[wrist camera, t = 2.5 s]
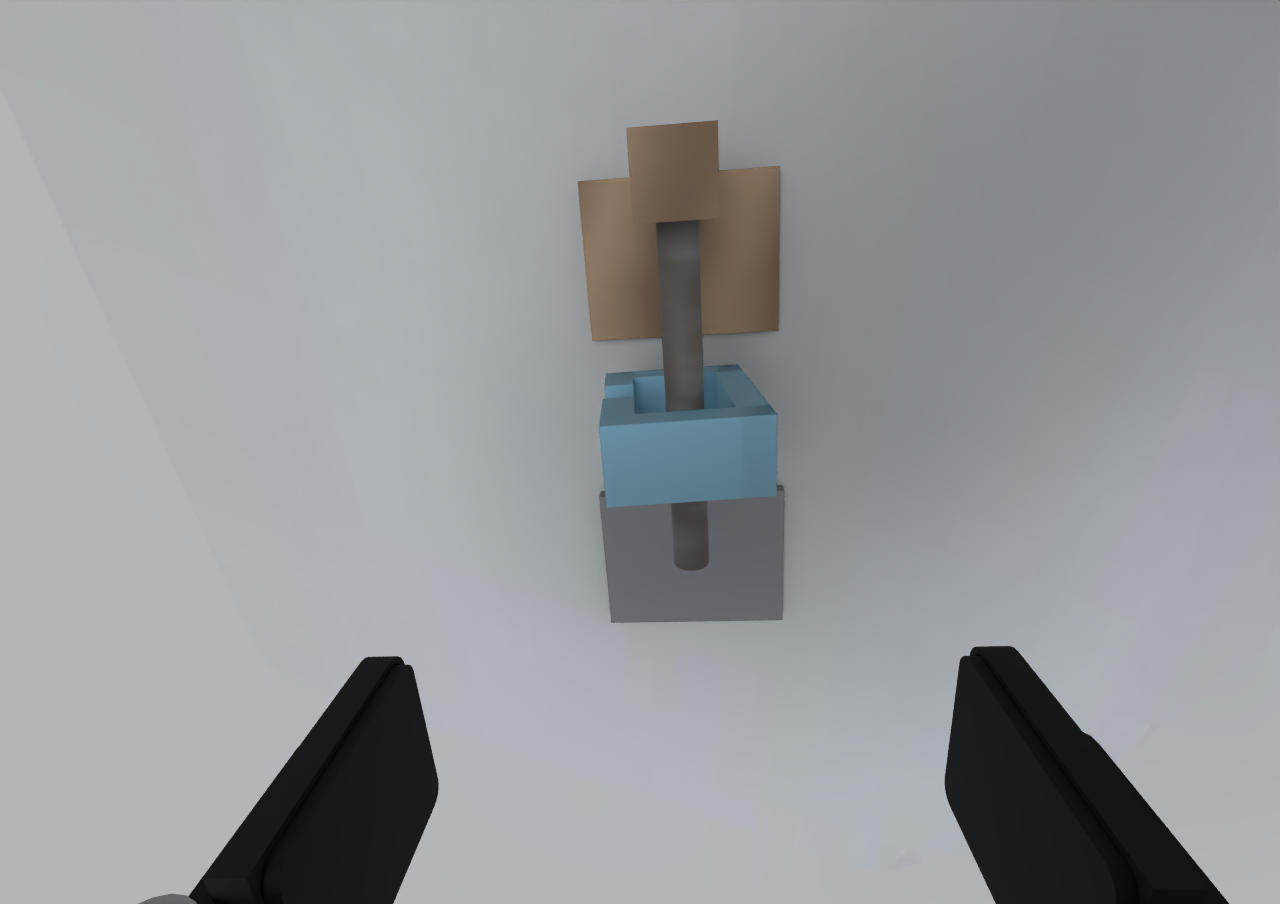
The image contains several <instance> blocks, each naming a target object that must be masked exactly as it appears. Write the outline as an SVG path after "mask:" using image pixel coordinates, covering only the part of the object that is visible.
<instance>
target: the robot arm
mask: <svg viewBox="0 0 1280 904" xmlns="http://www.w3.org/2000/svg"><path fill="white" fill-rule="evenodd" d="M945 790H946V795H947V799H948V802H949V805H950V807H951V809H952V811H953V813H954V815H955V818H956V820H957V822H958V824H959V826H960V828H961V830H962V833H963V835H964V837H965V839H966V841H967V843H968V845H969V847H970V850H971V852H972V854H973V856H974V858H975V860H976V862H977V864H978V867H979V869H980V871H981V873H982V875H983V877H984V879H985V882H986V884H987V886H988V888H989V890H990V892H991V894H992V896H993V899H994V901H995V903H996V904H1229V903H1228V902H1227V901H1226V899H1225V898H1224V897H1223V896H1222V894H1221V893H1220V892H1219V891H1218V890H1217V888H1216V887H1215V886H1214V885H1213V883H1212V882H1211V881H1210V880H1209V878H1208V877H1207V876H1206V875H1205V873H1204V872H1203V871H1202V870H1201V869H1200V867H1199V866H1198V865H1197V864H1196V862H1195V861H1194V860H1193V859H1192V857H1191V856H1190V855H1189V854H1188V853H1187V851H1186V850H1185V849H1184V848H1183V847H1182V846H1181V844H1180V843H1179V842H1178V840H1177V839H1176V838H1175V837H1174V835H1173V834H1172V833H1171V832H1170V831H1169V829H1168V828H1167V827H1166V826H1165V824H1164V823H1163V822H1162V821H1161V819H1160V818H1159V817H1158V816H1157V815H1156V813H1155V812H1154V811H1153V810H1152V808H1151V807H1150V806H1149V805H1148V803H1147V802H1146V801H1145V800H1144V799H1143V797H1142V796H1141V795H1140V794H1139V792H1138V791H1137V790H1136V789H1135V788H1134V786H1133V785H1132V784H1131V783H1130V781H1129V780H1128V779H1127V778H1126V777H1125V775H1124V774H1123V773H1122V772H1121V770H1120V769H1119V768H1118V767H1117V765H1116V764H1115V763H1114V762H1113V760H1112V759H1111V758H1110V757H1109V756H1108V754H1107V753H1106V752H1105V751H1104V749H1103V748H1102V747H1101V746H1100V745H1099V744H1098V743H1097V742H1096V741H1095V740H1094V739H1093V738H1092V737H1091V736H1090V735H1088V734H1086V733H1084V732H1082V731H1081V729H1080V728H1079V727H1078V726H1077V724H1076V723H1075V722H1074V721H1073V719H1072V718H1071V717H1070V716H1069V714H1068V713H1067V712H1066V711H1065V709H1064V708H1063V707H1062V706H1061V704H1060V703H1059V702H1058V701H1057V699H1056V698H1055V697H1054V696H1053V694H1052V693H1051V692H1050V691H1049V689H1048V688H1047V687H1046V686H1045V684H1044V683H1043V682H1042V681H1041V679H1040V678H1039V677H1038V676H1037V674H1036V673H1035V672H1034V671H1033V669H1032V668H1031V667H1030V666H1029V664H1028V663H1027V662H1026V661H1025V659H1024V658H1023V657H1022V656H1021V654H1020V653H1019V652H1018V651H1017V650H1016V649H1015V648H1014V647H1011V646H989V647H974V648H973V649H972V650H971V652H970V656H963V657H962V658H961V660H960V664H959V671H958V679H957V687H956V695H955V703H954V710H953V718H952V726H951V734H950V742H949V750H948V757H947V765H946V773H945ZM437 795H438V777H437V773H436V768H435V764H434V759H433V755H432V750H431V746H430V741H429V737H428V732H427V728H426V724H425V719H424V715H423V710H422V706H421V701H420V697H419V693H418V688H417V684H416V679H415V675H414V671H413V668H412V667H411V665H405V664H404V661H403V660H402V658H401V657H398V656H392V657H367V658H364V660H363V661H362V662H361V663H360V664H359V665H358V667H357V668H356V669H355V671H354V672H353V674H352V675H351V676H350V678H349V679H348V680H347V682H346V683H345V684H344V686H343V687H342V689H341V690H340V691H339V693H338V694H337V695H336V697H335V698H334V700H333V701H332V702H331V704H330V705H329V706H328V708H327V709H326V711H325V712H324V713H323V715H322V716H321V717H320V719H319V720H318V722H317V723H316V724H315V726H314V727H313V728H312V730H311V731H310V732H309V734H308V735H307V736H306V738H305V739H304V741H303V742H302V743H301V745H300V746H299V747H298V748H297V749H296V751H295V752H294V753H293V755H292V756H291V757H290V759H289V760H288V762H287V763H286V764H285V766H284V767H283V768H282V770H281V771H280V772H279V774H278V775H277V776H276V778H275V779H274V781H273V782H272V783H271V785H270V786H269V787H268V789H267V790H266V792H265V793H264V794H263V796H262V797H261V798H260V800H259V801H258V802H257V804H256V805H255V806H254V808H253V809H252V811H251V812H250V813H249V815H248V816H247V817H246V819H245V820H244V821H243V823H242V824H241V826H240V827H239V828H238V830H237V831H236V832H235V834H234V835H233V837H232V838H231V839H230V841H229V842H228V843H227V845H226V846H225V847H224V849H223V850H222V852H221V853H220V854H219V856H218V857H217V858H216V860H215V861H214V862H213V864H212V865H211V866H210V868H209V869H208V871H207V872H206V873H205V875H204V876H203V877H202V879H201V880H200V881H199V883H198V884H197V886H196V887H195V888H194V890H193V891H192V892H191V894H190V895H189V896H185V895H177V894H168V895H163V896H158V897H154V898H151V899H148V900H146V901H144V902H141V903H139V904H393V903H394V900H395V898H396V896H397V893H398V891H399V889H400V886H401V884H402V881H403V879H404V877H405V874H406V872H407V870H408V867H409V865H410V863H411V860H412V858H413V855H414V853H415V851H416V848H417V846H418V843H419V841H420V839H421V836H422V834H423V832H424V829H425V827H426V825H427V822H428V820H429V818H430V815H431V813H432V811H433V808H434V806H435V803H436V799H437Z"/></svg>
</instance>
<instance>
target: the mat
mask: <svg viewBox="0 0 1280 904" xmlns="http://www.w3.org/2000/svg"><path fill="white" fill-rule="evenodd" d="M599 498H600V508H601V519H602V529H603V539H604V550H605V560H606V571H607V581H608V591H609V602H610V612H611V623H625V622H687V621H749V620H782V611H783V543H784V489H783V486H777V496H769V497H755V498H740V499H725V500H711V501H707V507H708V539H709V564H708V565H707V566H706V567H705V568H703V569H700V570H695V571H687V570H682V569H680V568H678V567H676V566H675V564H674V550H673V531H672V513H671V503H667V504H652V505H638V506H623V507H609V508H607V506H606V496H605V492H601V493H600V497H599Z"/></svg>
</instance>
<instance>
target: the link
mask: <svg viewBox="0 0 1280 904" xmlns="http://www.w3.org/2000/svg"><path fill="white" fill-rule="evenodd" d="M703 380H704V409H701V410H686V411H672V412H666V400H665V382H664V370H650V371H635V372H621V373H606V379H605V397H606V399H603V402H602V409H601V417H600V424H599V431H600V441H601V452H602V463H603V474H604V485H605V496H606V506H607V508H609V507H623V506H638V505H652V504H667V503H682V502H696V501H711V500H725V499H740V498H755V497H769V496H777V413H776V412H775V411H774V410H773V408H772V407H771V406H770V405H769V403H768V402H767V401H766V400H765V398H764V397H763V396H762V395H761V393H760V392H759V391H758V390H757V388H756V387H755V386H754V385H753V383H752V382H751V381H750V379H749V378H748V377H747V376H746V374H745V373H744V372H743V371H742V369H741V368H740V367H739V366H738V364H736V365H722V366H707V367H703Z"/></svg>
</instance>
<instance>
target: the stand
mask: <svg viewBox="0 0 1280 904" xmlns="http://www.w3.org/2000/svg"><path fill="white" fill-rule="evenodd" d="M626 129H627V145H628V160H629V175H630V178H617V179H604V180H591V181H578V190H579V201H580V212H581V223H582V234H583V245H584V256H585V267H586V278H587V288H588V299H589V310H590V321H591V332H592V341H597V340H615V339H634V338H652V337H662V344H663V363H664V382H665V400H666V412H672V411H686V410H701V409H704V380H703V348H702V335H707V334H725V333H744V332H762V331H778V309H779V211H780V166H775V167H761V168H748V169H735V170H722V171H719V160H718V120H717V121H705V122H693V123H681V124H668V125H656V126H644V127H632V128H626ZM671 513H672V531H673V550H674V564H675V566H676V567H678V568H680V569H682V570H687V571H695V570H700V569H703V568H705V567H706V566H707V565H708V564H709V539H708V507H707V501H696V502H682V503H671Z"/></svg>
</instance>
